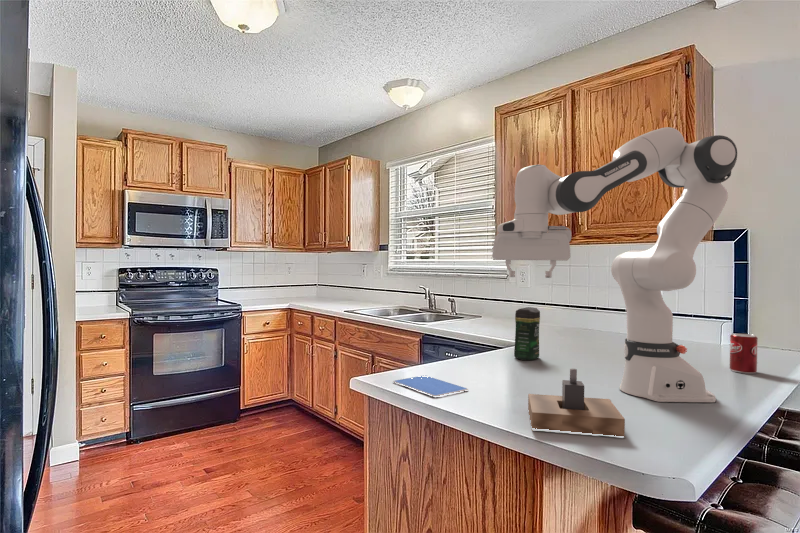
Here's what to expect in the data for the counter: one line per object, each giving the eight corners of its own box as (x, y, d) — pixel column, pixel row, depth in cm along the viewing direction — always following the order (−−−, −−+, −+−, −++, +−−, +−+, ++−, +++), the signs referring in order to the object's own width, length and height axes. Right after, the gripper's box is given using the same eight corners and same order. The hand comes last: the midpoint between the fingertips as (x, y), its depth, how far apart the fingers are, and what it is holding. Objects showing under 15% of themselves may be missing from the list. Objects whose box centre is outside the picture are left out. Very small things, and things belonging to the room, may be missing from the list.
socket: (609, 416, 109) (609, 399, 109) (624, 438, 96) (624, 419, 96) (528, 410, 113) (528, 393, 113) (531, 431, 99) (532, 412, 99)
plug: (580, 421, 106) (581, 367, 106) (583, 427, 102) (584, 371, 102) (561, 419, 107) (562, 366, 107) (564, 426, 103) (565, 370, 103)
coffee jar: (532, 362, 167) (533, 309, 167) (511, 358, 172) (511, 307, 171) (542, 357, 175) (543, 307, 174) (522, 354, 179) (522, 305, 179)
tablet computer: (391, 384, 138) (391, 380, 138) (425, 378, 145) (425, 374, 145) (434, 401, 122) (434, 396, 122) (470, 393, 129) (470, 388, 129)
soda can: (732, 373, 153) (733, 335, 153) (726, 368, 160) (727, 332, 160) (760, 375, 150) (760, 337, 150) (752, 370, 157) (753, 334, 157)
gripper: (569, 226, 129) (569, 277, 129) (492, 227, 133) (492, 276, 133) (573, 225, 123) (572, 278, 123) (492, 225, 127) (491, 277, 127)
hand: (530, 277), depth 128 cm, fingers open, 8 cm apart
